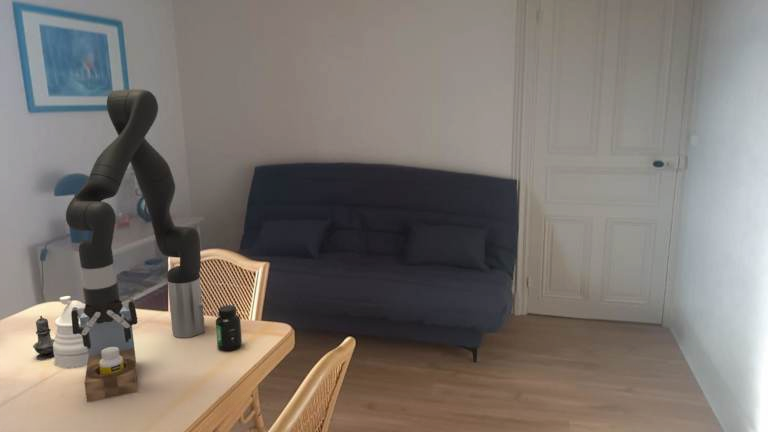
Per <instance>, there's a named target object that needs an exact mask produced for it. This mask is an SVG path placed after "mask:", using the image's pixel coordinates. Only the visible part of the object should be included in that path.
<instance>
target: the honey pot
mask: <svg viewBox="0 0 768 432" xmlns="http://www.w3.org/2000/svg"><path fill="white" fill-rule="evenodd" d="M59 300H60V303H61V304H62V305H66V306H65V307H64V309H63V311H62V313H61V315H60V316H59V317H57V318H56V319H55V320H54V325H55V327H57V329H56V330H55V336H54V340H55V341H54V343H53V351H54V357H53V358H54V363H55V365H56V366H57V367H59V368H65V369H75V368H82V367H87V363H88V349H87V347H84V345H83V338H82V335H81V334H73V329H72V317H71V312H72V309H73V308H74V307H76V308H78V309H80V308H85V303H83V302H81V301H80V300H71V296H69V295H66V296H65V295H64V296H61V297H59ZM78 319H79V327H81V324H80V318H78Z"/></svg>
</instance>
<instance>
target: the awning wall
mask: <svg viewBox="0 0 768 432" xmlns="http://www.w3.org/2000/svg"><path fill="white" fill-rule="evenodd" d="M120 313H122V314H123V315H124V317H126V318H127V319H128V320H129V319H131V314H130V310H126V308H125V307H122V309H121V311H120ZM88 319H89V317H88V316H87V315H86V314H85V313H83V314H82V315H81V317H80V324H81V327H84V325H85V324H86V322H87V320H88ZM130 329H131V339H129V342H126V341H125V334H124V326H123V325H122V324H120V323H118V322H117V321H116V320H115V319H114V320H113V321H112V322H103V323H100V324H98V323H96V322H95V323H94V325H93V326H92V328H90V330H89V335H90V342H91V348H89V349H88V356H93V355H99V354H101V351H102V350H103V349H105V348H109V347H118V348H119V351H123V350H128V349H134V350H135V341H134V340H135V339H134V332H133V325H132V326H131V327H130ZM135 351H136V350H135ZM135 359H136V360H137V358H136V355H135Z"/></svg>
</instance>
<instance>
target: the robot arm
mask: <svg viewBox="0 0 768 432" xmlns="http://www.w3.org/2000/svg"><path fill="white" fill-rule="evenodd" d="M106 108H107V109H106V110H107V113H108V117H109V119H110V121H111V123H112V126H113V127H114V129H115V131H116V133H117V137H116V138H115V139H114V140H113V141H112V142H111V143H110V144H109V145H108V146H106V148H105V149H103V150H102V152H101V153H100V154H99V156H98V157H97V158H96V160H95V162H94V164H93V167H92V169H91V170H90V171H91V172H90V173H89V176H88V178H87V181H86V182H85V183H84V184H83V186H82V187H81V188H79V190H78V192H77V193H76V194H75V195H74V196H73V198H72V200H71V201H70V202H69V203H68V206H67V207H66V211H65V221H66V224H67V226H68V227H69V228H70V229H72V230H75V231H84V232H92V236H91V239H87V240H84V241H82V242H80V244H79V246H78V254H79V255H78V256H79V261H80V271H81V273H80V278H81V284H82V291H83V298H84V299H83V300H84V305H85V308H80V309H78V308H76V307H74V308H73V309H72V312H71V317H72V329H73V334H81V335H82V338H83V345H84V347H87V349H89V348H91V342H90V335H89V330H90V328H92V326H93V325H94V323H95V322H96V323H98V324H100V323H103V322H112V321H113V320H114V319H115V320H116V321H117V322H118V323H120V324H122V325H123V326H124V334H125V341H126V342H129V339H131V329H130V327H131V326H132V327H133V325H137V324H138V315H137V310H136V305H135V300H134V299H133V298H130V299H129V300H127V301H123V302H122V301H121V299H120V293H119V286H118V275H117V271H116V268H115V262H114V256H113V255H114V254H113V248H112V247H113V240H114V233H115V232H114V231H115V225H116V221H117V220H116V219H117V218H116V212H115V210H114V208H113V206H112V205H111V204H110V203H108V202H105V201H104V200H107V199H110V198H113V197H115V196H116V195H117V194H118V191H119V190H120V187H121V185H122V181H123V179H124V176H125V174H126V173H127V169H128V167H129V165H130V164H131V167H132V170H133V172H134V173H133V174H134V176H135V179H136V183H137V185H138V187H139V190H140V192H141V193H140V194H141V195H142V197H143V200H144V203H145V206H146V209H147V212H148V215H149V218H150V221H151V225H152V229H153V234H154V237H155V243H156V245H157V248H158V249H159V252H160V253H161V254H162V255H163V256H166V257H169V258H170V257H171V258H179V265H177V266H174V267H172V268H170V269H169V270H167V273H166V277H167V278H166V280H167V287H168V288H167V289H168V299H169V300H168V301H169V311H170V320H171V330H172V335H173V336H174V337H176V338H183V339H185V338H191V337H196V336H199V335H200V334H203V333H206V330H205V327H206V326H205V315H204V304H203V300H202V299H203V298H202V288H201V277H200V273H201V272H200V271H201V268H202V267H201V261H202V259H201V258H202V257H201V238H200V234H199V231H197V229H196V228H194V227H188V226H176V225H175V224H174V221H173V219H172V215H171V213H170V211H171V210H170V209H171V205H172V202H173V199H174V197H175V192H176V183H175V179H174V176H173V173H172V171H171V167H170V165H169V163H168V162H167V161H166V159H165V158H164V157H163V156H162V155H161V154H160V152H158V150H157V149H156V148H154V147H153V146H152V145H151V143H149V142H148V140H147V139H146V135H148V134H149V133H148V132H149V131H150V130H151V128H152V126H153V125H154V122H155V121H156V118H157V117H158V114H159V113H158V111H159V104H158V100H157V97H156V96H155V95H154V94H153V93H152V92H151V91H149V90H147V89H118V90H116V89H115V90H113V91H111V92H109V94H108V95H107V99H106ZM122 307H125V308H126V310H130V314H131V319H129V320H128V319H127V318H126V317H124V315H123V314H122V313H120V311H121V309H122ZM83 313H85V314H86V315H87V316H88V317H89V319H88V320H87V322H86V324H85V325H84V327H79V319H78V318H80V317H81V315H82V314H83Z"/></svg>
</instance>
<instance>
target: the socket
mask: <svg viewBox="0 0 768 432" xmlns="http://www.w3.org/2000/svg"><path fill="white" fill-rule="evenodd" d="M119 355H120V356H122V358H123V364H124V369H123V370H122V371H120V372H117V373H115V374H110V375H100V366H99V362H100V360H101V359H102V356H101V354H99V355H93V356H88V363H87V365H86V369H85V370H86V371H85V376H84V377H85V378H84V390H85V398H86V402H87V403H89V402H93V401H97V400H98V401H99V400H103V399H108V398H113V397H118V396H119V397H120V396H123V395H128V394H133V393H137V392H138V387H137V386H138V385H137V383H138V382H137V381H138V380H137V358H136V359H135V356H136V350H134V349H128V350H123V351H119Z"/></svg>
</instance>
